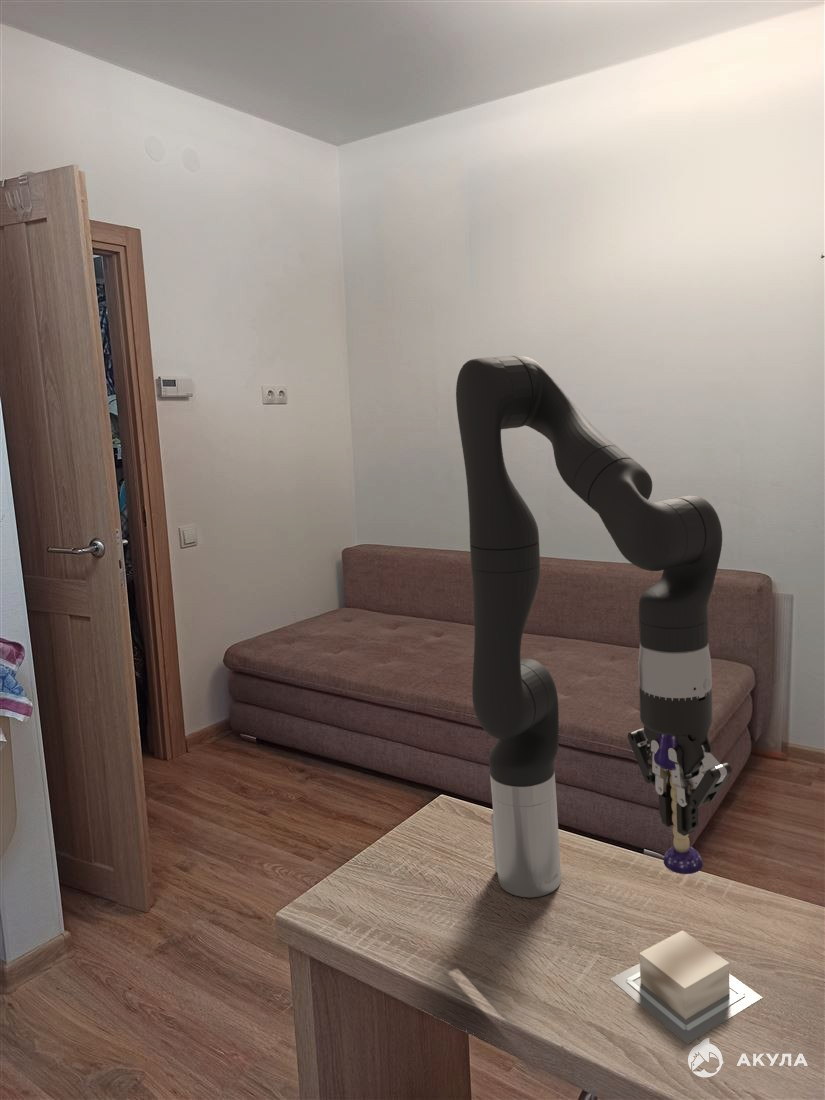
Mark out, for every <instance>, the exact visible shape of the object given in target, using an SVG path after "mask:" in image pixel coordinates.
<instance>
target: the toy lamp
mask: <svg viewBox="0 0 825 1100" xmlns="http://www.w3.org/2000/svg"><path fill="white" fill-rule="evenodd" d="M658 741H659V749H658V750H657V752H656V753H655V754H654V761H655V763H656V764H657V765H658V766H660V767H662V768H664V769H668V770H669V772H670V774H671V776H670V785H671V787H672V788H671V798H672V799H673V800H672V803H671V807H672V811H673V814H672V822H673V824H674V825H672V834H673V836H674V837H673V840H672V842H673V843H672V844H673V845H672V846H671V847H669V848H668V849H667V851H666V852H665V853H664V856H663V865H664V866H665V868H666V869H668V870H669V871H671V872H673V873H676V874H680V875H690V874H691V875H692V874H696V873H698V872H700V871H701V870H702V868H703V866H704V863H703V858H702V856H701V854H700V853H699V851H698V850H696V849H695V848H694V847H692V846H690V845H691V844H690V843H691V842H690V838H689V835H690V834H687V835H685V836H683V835H681V834H680V833H678V832H677V806H676V804H677V803H678V801H677V790H676V785H674V784H673V782H672V771H671V770H676V768H675V763H674V762H672V761H671V760H670V759H669V755H668V750H669V748H672V747H674V746H677V745H678V744H677V740H676V737H675V736H672V735H665V734H660V733H659V735H658Z"/></svg>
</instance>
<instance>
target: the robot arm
mask: <svg viewBox="0 0 825 1100" xmlns="http://www.w3.org/2000/svg"><path fill="white" fill-rule="evenodd" d="M455 388H456V389H455V391H456V392H455V399H456V400H455V401H456V412H457V421H458V426H459V427H458V428H459V434H460V441H461V448H462V454H463V460H464V468H465V477H466V478H465V479H466V485H467V487H466V489H467V502H468V515H469V516H468V517H469V520H468V521H469V549H470V566H471V575H472V576H471V577H472V579H471V580H472V589H473V591H472V592H473V622H474V647H473V665H472V666H473V667H472V668H473V669H472V685H471V686H472V689H471V691H472V696H471V697H472V705H473V710H474V713H475V717H476V719H477V721H478V723H479V725H480V726H481V728H482V729H483V730H484V731H485V733H487V734H488V735H489V736H491V738H495V739H497V740H498V741H497V742H496V744H495V745H494V746H493V748H492V749H491V751H490V754H489V758H488V759H489V760H488V765H489V767H488V768H489V777H490V789H491V790H490V791H491V799H492V800H491V802H492V803H491V804H492V813H491V816H490V819H491V833H492V844H493V845H492V847H493V858H494V859H493V860H494V871H495V872H496V873H497V880H498V884H499V886H500V887H501V888H502V889H503V890H504V892H507V893H509V894H510V895H514V896H516V897H522V898H538V897H543V896H546V895H550V894H551V893H553V892H554V891H555V890H557V889H558V888H559V886H560V885H561V882H562V875H561V874H562V872H561V871H562V870H561V869H562V868H561V853H560V851H561V850H560V835H559V821H558V819H559V817H558V808H557V807H558V805H557V804H558V803H557V789H556V774H555V762H556V761H555V760H556V758H557V755H558V751H559V744H560V741H559V739H560V736H559V733H560V732H559V728H560V727H559V726H560V725H559V717H560V716H559V698H558V691H557V686H556V684H555V681H554V678H553V677H552V675H551V672H550V671H549V670H548V669H547V668H546V666H544V665H543V664H542V663H540V662H539V661H538V660H536V659H532V658H521V649H522V648H521V646H522V639H523V635H524V629H525V626H526V624H527V620H528V618H529V615H530V612H531V609H532V606H533V603H534V600H535V597H536V594H537V590H538V586H539V584H540V583H539V581H540V576H541V557H540V556H541V555H540V537H539V536H540V535H539V534H540V533H539V526H538V524H537V521H536V518H535V516H534V515H533V513H532V511H531V509H530V508H529V506H528V505H527V503H526V501H525V500H524V498H523V496H522V495H521V494H520V493H519V491H518V489H517V488H516V486H515V484H514V483H513V481H512V480H511V478H510V475H509V473H508V470H507V468H506V464H505V458H504V453H503V452H504V451H503V445H502V430H507V429H517V428H518V429H519V428H522V427H525V426H526V427H528V428H531V429H532V430H534V431H536V432H538V433H539V434H541V435H543V436H544V437H545V438H546V439H547V440H549V442H550V443H551V446H552V450H553V457H554V461H555V466H556V469H557V471H558V473H559V475H560V477H561V479H562V480H563V482H564V483H565V484H566V486H568V488H570V490H571V491H572V492H573V493H574V494H575V495H576V496H577V497H579V498H580V499H581V500H582V501H583V502H584V503H585V504H587V505H588V506H589V508H591V510H593V511H595V512H596V513H597V514H598V516H599V517H600V519H601V521H602V523H603V525H604V527H605V528H606V530H607V531H608V534H609V535H610V536H611V539H612V540H613V542H614V543H615V546H616V548H617V549H618V551H619V552H620V554H621V555H622V556H623V558H624V559H626V560H627V561H628V562H629V563H631V565H633V566H636V567H637V568H640V569H641V570H645V571H648V572H659V571H662V574H661V577H660V579H658V581H657V582H656V583H655V584H653V585H652V586H651V587H649V588H648V589H646V590H645V591H644V592H643V593H641V595H640V598H639V600H638V601H639V602H638V626H639V630H638V631H639V650H638V651H639V653H638V660H637V661H638V663H637V665H638V666H637V667H638V668H637V670H638V695H639V717H640V718H639V719H640V721H641V723H642V725H643V727H641V728H639V729H636V730H633V731H631V732H628V733H627V739H628V742H629V744H630V747H631V750H632V751H633V754H634V757H635V760H636V762H637V764H638V767H639V769H640V772H641V774H642V777H643V780H644V781H645V783H646V784H653V786H654V788H655V791H656V793H657V794H658V805H659V806H658V807H659V811H658V813H659V817H660V818H661V823H662V825H664V826H665V827H671V826H672V827H673V825H674V824H673V822H672V814H673V811H672V807H671V803H672V800H673V799H672V798H671V788H672V787H671V785H670V776H671V774H670V772H669V770H668V769H664V768H662V767H660V766H658V765H657V764H656V763H655V761H654V754H655V753H656V752H657V750H658V749H659V741H658V735H659V733H660V734H665V735H672V736H675V737H676V740H677V744H678V745H677V746H674V747H672V748H669V750H668V755H669V759H670V760H671V761H672V762H674V763H675V768H676V770H671V771H672V782H673V784H674V785H676V790H677V801H678V803H677V804H676V806H677V832H678V833H680V834H681V835H683V836H685V835H687V834H689V835H690V834H692V833H694V832H695V831H696V830H697V829H698V828H699V808H700V807H701V806H703V805H706V804H707V803H711V802H713V801H714V800H715V799H716V797H717V796H718V795H719V793H720V791H721V790H722V788H723V786H724V785H725V783H726V782H727V780H728V779H729V778H730V775H731V774H732V772H733V769H732V766H731V765H730V764H729V763H728V762H724V763H720V761H718V760H717V758H716V757H715V756H714V755H713V754H712V752H713V751H712V745H711V742H710V739H709V731H710V729H711V726H712V724H713V682H712V681H713V679H712V677H713V676H712V674H713V673H712V670H713V669H712V660H711V659H712V658H711V653H710V645H709V619H708V618H709V613H708V604H709V600H710V598H711V594H712V592H713V588H714V585H715V584H714V583H715V579H716V576H717V571H718V566H719V564H720V558H721V555H722V554H721V553H722V546H723V529H722V524H721V521H720V518H719V515H718V513H717V512H716V510H715V508H714V506H712V504H711V503H710V502H709V501H707V500H706V499H704V498H702V497H700V496H697V495H683V496H678V497H674V498H668V499H663V500H659V501H651V500H649V499H650V497H651V494H652V491H653V481H652V477H651V475H650V474H649V472H648V471H647V470H646V469H645V468H644V467H643V466H642V465H641V464H640V463H639V462H637V461H636V460H634V459H633V458H632V457H631V456H630V455H628V453H626V452H625V451H623V450H622V449H621V448H620V447H618V446H617V445H616V444H615V443H613V441H611V440H610V439H608V438H607V437H606V436H605V435H604V434H603V433H602V432H601V431H599V430H598V429H597V428H596V427H595V426H594V425H593V424H592V423H591V422H590V421H589V420H588V419H587V418H586V416H585V415H584V414H583V412H581V411H580V409H579V408H578V407H577V405H576V404H575V403H574V402H573V400H571V398H570V397H569V396H568V395H567V394H566V393H565V392H564V390H563V389H562V388H561V387H560V386H559V384H558V383H557V382H556V380H555V379H554V378H553V377H552V376H551V375H550V374H549V372H548V371H547V370H546V369H545V368H544V367H543V366H542V365H541V364H540V363H538V362H537V361H536V360H535V359H533V358H531V357H528V356H524V355H507V356H505V355H503V356H489V357H480V358H479V357H477V358H472V359H469V360H468V361H466V362H465V363H464V364H463V365H462V367H461V368H460V369H459V373H458V375H457V380H456V387H455ZM649 760H651V766H652V767H650V764H649ZM688 788H689V790H688Z"/></svg>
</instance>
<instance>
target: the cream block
mask: <svg viewBox="0 0 825 1100" xmlns="http://www.w3.org/2000/svg"><path fill="white" fill-rule="evenodd" d="M639 963H640V979H641V983H642V984H643V985H644V986H645V987H647V988H648V989H649V990H650V991H652V992H653V993H654V994H655V995H656V996H658V997H659V998H660V999H661V1000H662V1001H664V1002H665V1003H666V1004H667V1005H669V1006H670V1007H671V1008H672V1009H673V1010H675V1011H676V1012H677V1013H678V1014H679V1015H681V1016H682V1017H683V1018H684V1019H688V1018H689V1017H691V1016H693V1015H694V1014H696V1013H698V1012H699V1011H701V1010H703V1009H704V1008H706V1007H708V1006H709V1005H711V1004H713V1003H714V1002H716V1001H718V1000H719V999H721V998H723V997H725V996H726V995H728V994H730V984H729V974H730V962H728V961H727V960H726V959H724V958H722V957H721V956H720V955H718V954H717V953H715V952H714V951H713V950H711V949H710V948H709V947H708V946H706V945H704V944H703V943H701V942H700V941H698V940H697V939H695V938H694V937H693V936H691V935H690V934H688V933H687V932H686V931H685V930H680V931H679V932H676V933H675V934H673V935H671V936H669V937H667V938H665V939H663V940H661V941H659V942H658V943H655V944H654V945H652V946H650V947H648V948H647V949H644V950H643V951H641V952H639Z"/></svg>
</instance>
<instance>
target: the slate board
mask: <svg viewBox="0 0 825 1100" xmlns="http://www.w3.org/2000/svg"><path fill="white" fill-rule="evenodd" d="M609 979H610V981H612V982H613V983H614V984H615V985H616V986H617V987H619V988H620V990H622V991H623V992H625V994H627V995H628V996H629V997H630V998H632V1000H634V1001H635V1002H636V1003H637V1004H639V1005H640V1006H641V1007H642V1008H643V1009H644V1010H645V1011H646V1012H648V1013H649V1014H650V1015H651V1016H653V1017H654V1018H655V1019H656V1020H657V1021H658V1022H659V1023H661V1024H662V1025H663V1026H664V1027H665V1028H666V1029H668V1030H669V1032H671V1033H672V1034H673V1035H675V1036H676V1037H677V1038H678V1039H679V1040H680V1041H682V1042H683V1043H684V1044H685V1045H689V1044H690V1043H692V1042H693V1041H695V1040H697V1039H699V1038H701V1036H702V1037H703V1035H705V1034H707V1033H708V1032H710V1031H712V1030H713V1029H715V1028H716V1027H718V1026H719V1025H721V1024H722V1023H724V1022H726V1021H728V1020H729V1019H730V1018H732V1017H735V1016H736V1015H738V1014H739V1013H740V1012H742V1011H744V1010H745V1009H747V1008H749V1007H750V1006H752V1005H753V1004H755V1003H757V1002H759V1001H760V1000H762V999H763V998H764V997H763V996H761V995H760V994H758V992H756V991H754V990H753V989H752V988H750V986H747V985H746V984H745V983H743V982H742V981H740V980H739V979H738V978H736V977H735V976H733V975H732V974H731V973H729V984H730V994H728V995H726V996H725V997H723V998H721V999H719V1000H718V1001H716V1002H714V1003H713V1004H711V1005H709V1006H708V1007H706V1008H704V1009H703V1010H701V1011H699V1012H698V1013H696V1014H694V1015H693V1016H691V1017H689V1018H688V1019H684V1018H683V1017H682V1016H681V1015H679V1014H678V1013H677V1012H676V1011H675V1010H673V1009H672V1008H671V1007H670V1006H669V1005H667V1004H666V1003H665V1002H664V1001H662V1000H661V999H660V998H659V997H658V996H656V995H655V994H654V993H653V992H652V991H650V990H649V989H648V988H647V987H645V986H644V985H643V984H642V983H641V979H640V962H639V963H637V964H636V965H633V966H631V967H629V968H628V969H626V970H623V971H622V972H620V973H618V974H617V975H614V976H613V977H611V978H609Z"/></svg>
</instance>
